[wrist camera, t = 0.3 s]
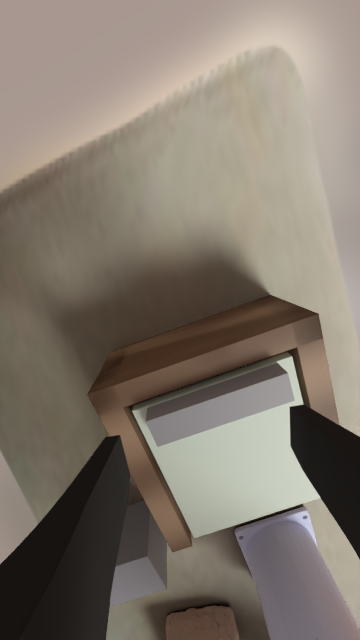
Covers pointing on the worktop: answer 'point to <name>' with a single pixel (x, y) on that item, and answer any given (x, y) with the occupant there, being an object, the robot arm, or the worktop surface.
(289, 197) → the worktop surface
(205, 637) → the brick
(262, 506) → the trapdoor
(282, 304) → the frame
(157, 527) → the grey cube
